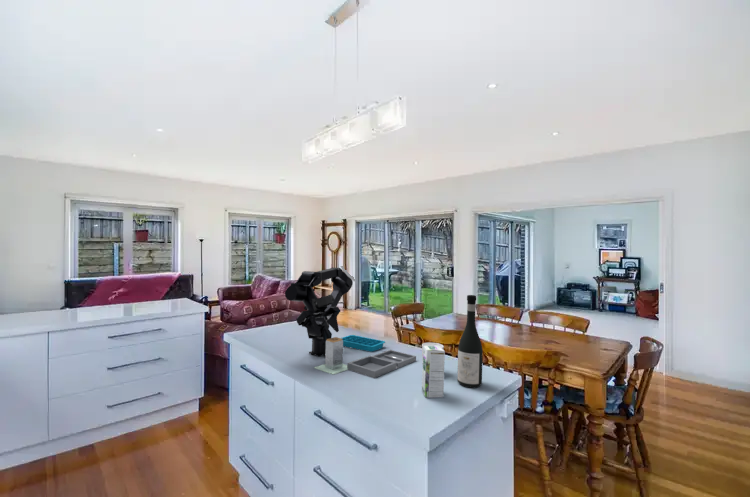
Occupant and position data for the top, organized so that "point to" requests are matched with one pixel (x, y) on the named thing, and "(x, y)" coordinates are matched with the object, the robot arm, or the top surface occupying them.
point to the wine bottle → (470, 350)
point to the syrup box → (433, 371)
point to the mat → (333, 372)
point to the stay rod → (393, 358)
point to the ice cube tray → (362, 343)
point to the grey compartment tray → (380, 363)
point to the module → (334, 353)
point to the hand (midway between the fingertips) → (329, 333)
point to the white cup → (430, 344)
